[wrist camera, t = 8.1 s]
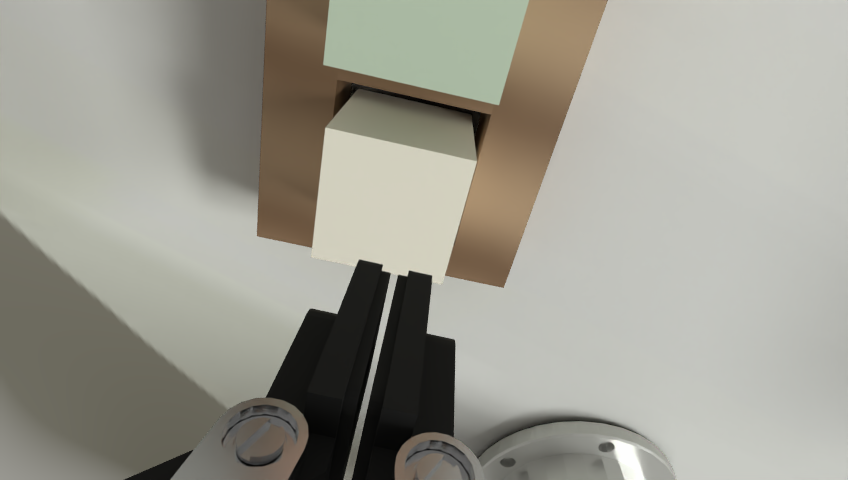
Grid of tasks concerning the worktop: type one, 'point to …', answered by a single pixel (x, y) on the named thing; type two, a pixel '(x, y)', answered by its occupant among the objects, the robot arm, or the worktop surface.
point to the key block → (498, 125)
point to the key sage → (428, 42)
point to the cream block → (393, 184)
